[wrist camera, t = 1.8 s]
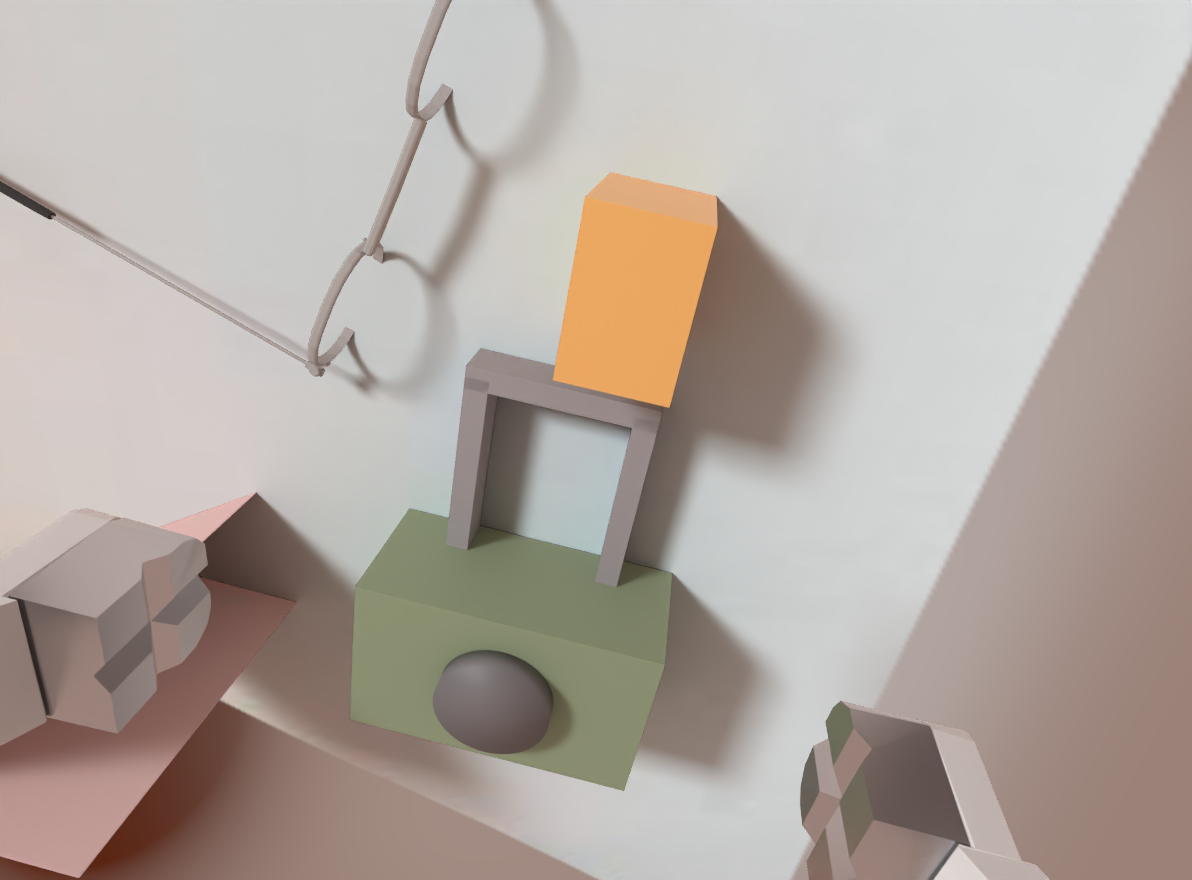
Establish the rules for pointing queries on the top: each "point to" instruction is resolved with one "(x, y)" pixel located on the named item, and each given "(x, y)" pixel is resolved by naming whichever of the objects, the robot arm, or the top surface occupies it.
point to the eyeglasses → (384, 213)
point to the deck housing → (516, 609)
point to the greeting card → (126, 733)
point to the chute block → (635, 287)
